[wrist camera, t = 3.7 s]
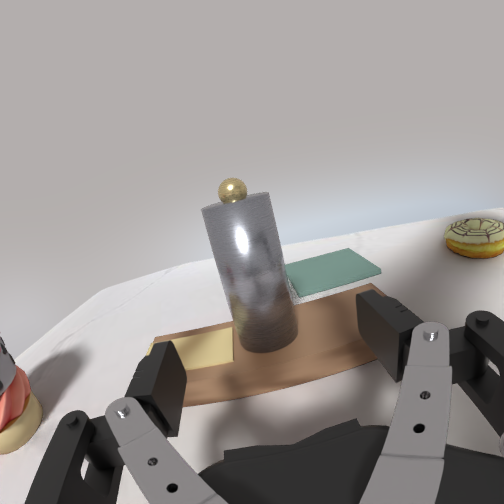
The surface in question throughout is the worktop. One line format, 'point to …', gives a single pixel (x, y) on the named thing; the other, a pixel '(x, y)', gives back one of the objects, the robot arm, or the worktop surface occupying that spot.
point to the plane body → (273, 363)
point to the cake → (16, 405)
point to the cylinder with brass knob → (251, 267)
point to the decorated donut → (476, 237)
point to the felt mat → (329, 271)
